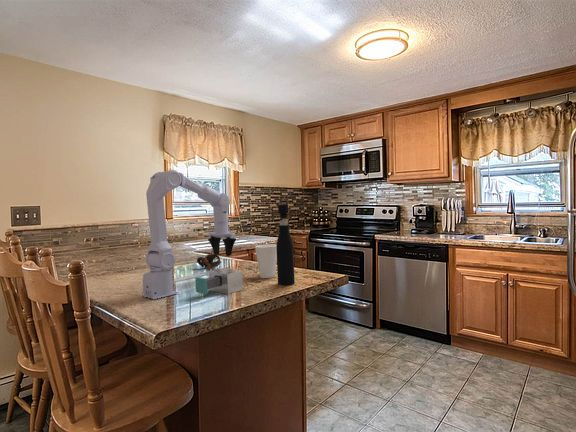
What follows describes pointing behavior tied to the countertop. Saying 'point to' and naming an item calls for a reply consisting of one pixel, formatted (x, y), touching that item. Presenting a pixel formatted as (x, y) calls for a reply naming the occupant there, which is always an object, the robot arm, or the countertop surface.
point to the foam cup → (266, 260)
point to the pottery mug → (209, 261)
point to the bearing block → (228, 280)
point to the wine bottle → (284, 250)
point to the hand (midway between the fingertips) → (222, 255)
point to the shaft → (207, 283)
